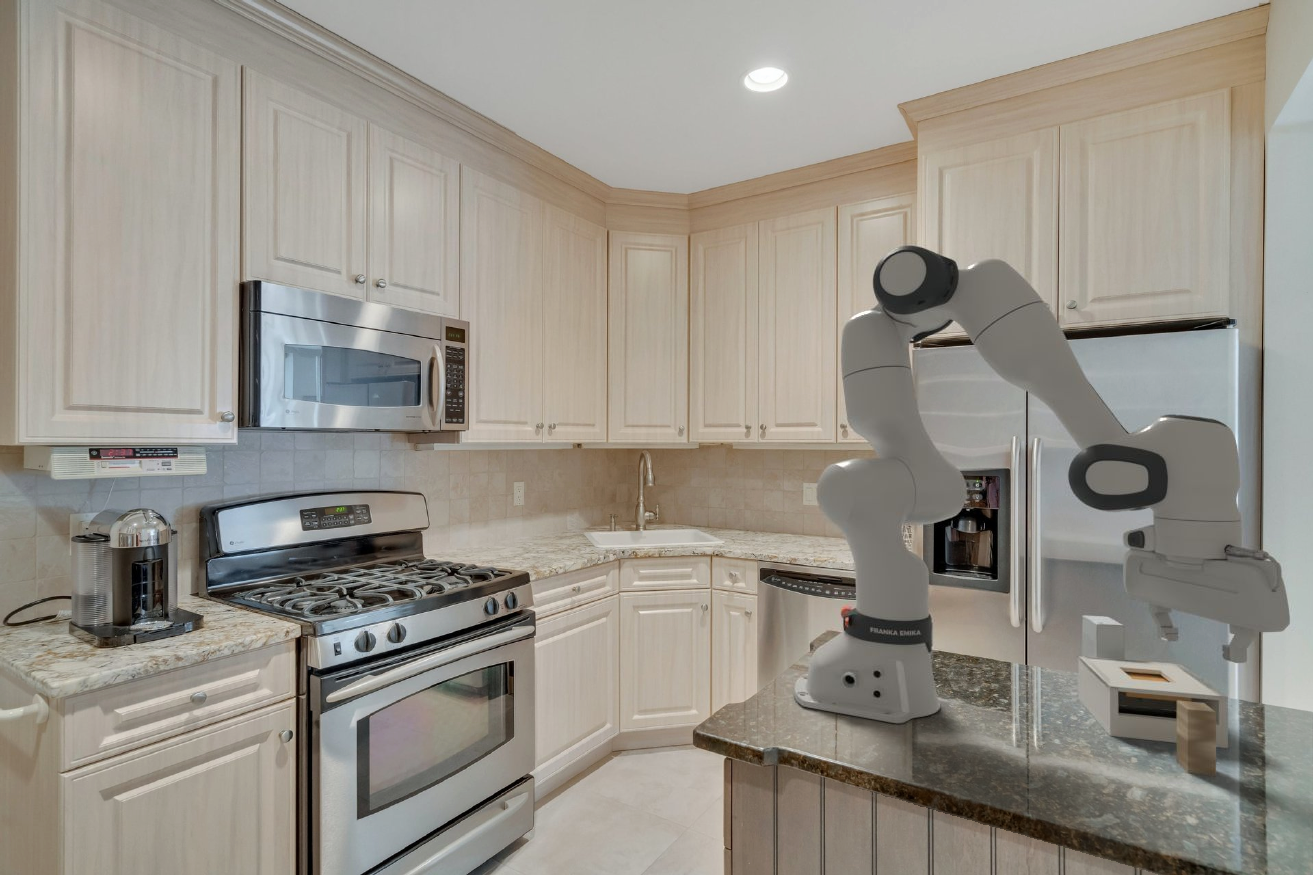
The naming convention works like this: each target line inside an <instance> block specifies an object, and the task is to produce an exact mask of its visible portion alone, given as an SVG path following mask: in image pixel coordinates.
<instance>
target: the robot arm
mask: <svg viewBox="0 0 1313 875" xmlns="http://www.w3.org/2000/svg"><path fill="white" fill-rule="evenodd" d="M872 288H873V289H872V290H873V293H874V296H875V299H876V301H877V302H878V303H877V305H876V306H874V307H873V308H871V309H869V310H865V311H862V312H859V313H857V314H855V315H853V316H852V317H851V318H849V319H848V320H847V321H846V322H845V324H844V326H843V329H842V333H841V344H840V345H841V347H840V362H841V363H840V364H841V365H840V366H841V377H842V378H841V379H842V386H843V394H844V402H845V410H846V419H847V420H846V421H847V422H848V425H849V427H850V428H851V430H852V431H853V432H854V433H855V434H857V435H859V436H860V437H862V438H863V439H864V440H866V441H867V442H868V444H870V446H871V448H872V449H873V450H874V453H875V454H876V456H877V457H867V458H866V457H862V458H859V457H857V458H852V459H851V458H850V459H847V460H844V461H839V462H836V463H832V464H829V465H828V466H827V467H826V468H824V469H823V471H822V473H821V475H820V476H819V478H818V481H817V486H816V500H817V504H818V507H819V508H820V511H821V513H822V514H823V516H824V517H825V518H826V519H827V521H828V522H830V523H832V524H833V525H834V526H835V527H836V528H837V529H838V530H839V532H840V533H841V534H842V535H843V537H844V538H845V540H846V542H847V545H848V547H849V550H850V552H851V556H852V559H853V563H854V564H853V565H854V573H855V574H854V576H855V591H856V592H855V601H856V603H855V604H856V606H855V608H853V609H852V607H850V606H849V605H845V606H843V607H842V608H841V609H840V610H841V611H840V616H841V618H842V622H843V623H842V628H843V630H842V632H840V633H839V634H837V635H836V636H834V637H832V638H831V639H830V640H828V641H827V642H824V644H822V645H821V646H819V647H818V648H816V650H815V651H814V652H813V654H812V656H811V658H810V661H809V665H808V670H807V673H805V674H803V675H801V676H800V677H798V678H797V680H796V681H795V683H794V690H793V695H794V699H795V700H796V702H797V703H798V704H799V705H800V706H802V707H805V708H810V709H815V710H821V711H826V712H832V713H838V714H841V715H842V714H843V715H846V716H847V715H848V716H854V717H859V718H865V719H870V720H875V721H880V722H881V721H882V722H887V723H893V724H902V723H903V724H904V723H905V722H907V721H910V720H911V719H915V718H923V717H926V716H929V715H933V714H935V713H937V712H938V711H939V710H940V708H941V702H940V700H939V696H938V693H937V688H936V685H935V679H934V674H933V666H932V658H931V657H932V656H931V652H932V650H933V644H934V640H933V638H934V633H933V632H934V630H933V629H934V626H933V620H932V616H931V614H930V602H929V601H930V585H929V582H930V581H929V580H930V577H929V576H930V572H929V568H928V565H927V564H926V562H925V561H924V560H923V559H922V558H921V557H920V556H918V554H916V553H914V552H912V551H911V550H909V549H908V547H907V545H906V543H905V540H904V538H903V531H902V526H920V525H922V526H923V525H924V526H925V525H931V524H935V523H938V522H942V521H945V520H948V519H952V518H953V517H955V516H957V515H959V513H960V512H961V511H962V509H963V508H964V506H965V504H966V500H967V496H968V495H967V493H968V491H967V482H966V480H965V477H964V476H963V473H962V472H961V470H960V469H959V467H957V466H956V465H954V464H953V463H952V462H950V461H949V460H948V459H946V458H945V456H944V455H943V454H941V452H940V450H939V449H938V448H937V447H936V445H935V443H933V441H932V439H931V438H930V436H929V433H928V432H927V429H926V428H925V426H924V424H923V421H922V417H921V414H920V411H919V406H918V401H917V394H916V390H915V383H914V377H913V376H914V375H913V371H912V370H913V369H912V364H911V358H910V357H911V356H910V345H911V344H916V343H918V342H919V343H920V341H922V340H925V339H926V338H927V337H928V338H929V337H930V336H933V335H936V334H938V333H940V332H942V331H943V330H945V329H946V328H948V327H950V325H951V324H952V323H953V322H955V323H957V324H958V325H959V326H960V327H961V328H962V329H963V330H964V332H965V333H966V335H967V336H968V338H969V339H970V341H971V343H972V344H973V345H974V347H975V349H976V350H977V351H978V353H979V354H980V355H981V357H982V358H983V360H984V361H985V362H986V363H987V364H988V366H989V367H990V368H992V370H993V371H995V373H996V374H997V375H998V376H999V377H1001V378H1002V379H1003V380H1004V381H1006V382H1007V383H1010V384H1012V385H1014V386H1016V387H1018V388H1020V389H1022V390H1024V391H1026V392H1028V393H1029V394H1031V395H1032V396H1034V397H1036V398H1037V399H1039V400H1040V401H1041V402H1043V403H1044V404H1045V405H1046V406H1047V407H1048V408H1049V409H1050V410H1051V411H1052V412H1053V414H1054V415H1055V416H1056V418H1057V419H1058V420H1059V422H1060V423H1061V424H1062V425H1063V427H1064V428H1065V430H1066V431H1067V432H1068V434H1069V435H1070V437H1071V438H1072V439H1073V441H1074V442H1075V443H1076V445H1077V446H1078V447H1079V449H1080V450H1081V451H1080V452H1078V453H1077V455H1076V456H1074V457H1073V459H1072V461H1071V463H1070V465H1069V468H1068V472H1067V474H1068V476H1067V478H1068V484H1069V488H1070V489H1071V491H1072V493H1073V494H1074V496H1075V497H1076V498H1077V499H1078V500H1079V501H1080V502H1082V503H1083V504H1085V505H1086V506H1088V507H1090V508H1092V509H1095V510H1099V511H1102V512H1107V513H1120V512H1127V511H1129V512H1130V511H1134V512H1135V511H1142V510H1146V509H1151V510H1152V514H1153V524H1149V525H1146V526H1143V527H1139V528H1135V529H1132V530H1131V529H1130V530H1127V531H1125V532H1123V534H1122V543H1123V546H1124V547H1126V548H1127V550H1126V551H1125V553H1124V555H1123V561H1122V566H1123V567H1122V576H1123V578H1122V579H1123V588H1124V590H1125V593H1126V594H1127V596H1128V598H1130V599H1132V600H1135V601H1139V602H1143V603H1147V604H1148V612H1149V613H1150V616H1151V618H1152V619H1153V621H1154V623H1155V625H1156V629H1157V630H1156V631H1157V633H1156V634H1157V638H1158V639H1160V640H1163V641H1166V642H1170V643H1171V642H1177V641H1179V639H1180V638H1179V627H1176V626H1174V625H1173V622H1172V619H1171V617H1170V614H1169V613H1172V610H1173V611H1176V612H1181V613H1184V614H1187V615H1188V614H1189V615H1192V616H1196V617H1200V618H1203V619H1208V620H1210V621H1211V620H1212V621H1215V622H1219V623H1223V624H1228V626H1229V627H1228V628H1229V631H1228V632H1229V633H1230V634H1232V635H1233V636H1232V639H1231V640H1230V642H1229V644H1222V646H1221V650H1222V652H1223V653H1222V658H1223V659H1224V661H1228V662H1231V663H1235V664H1245V663H1246V662H1247V660H1248V654H1247V653H1248V650H1247V649H1248V648H1249V647H1250V646H1251V644H1252V642H1254V640H1255V639H1256V637H1257V633H1279V632H1283V631H1285V630H1286V628H1288V627H1289V625H1290V623H1291V618H1290V617H1291V616H1290V607H1289V602H1288V601H1289V600H1288V596H1287V591H1286V586H1285V582H1284V579H1283V574H1282V566H1281V564H1280V562H1278V560H1276V559H1275V558H1274V557H1273V556H1271V555H1270V554H1269V552H1267V551H1265V550H1263V549H1250V548H1246V547H1243V533H1242V532H1243V530H1242V527H1243V526H1242V516H1241V513H1240V510H1239V508H1238V503H1237V497H1238V492H1239V490H1240V486H1241V471H1240V470H1241V469H1240V468H1241V467H1240V458H1239V452H1238V444H1237V441H1236V440H1237V439H1236V436H1235V434H1234V432H1233V430H1232V429H1231V428H1230V427H1229V426H1228V425H1226V423H1224V422H1221V421H1220V420H1217V419H1214V418H1207V417H1202V416H1194V415H1184V414H1164V415H1160V416H1158V417H1157V418H1156V419H1155V420H1154V421H1152V422H1150V423H1149V424H1146V425H1145V426H1143V427H1140V428H1139V429H1137V430H1134V431H1132V432H1129V431H1127V430H1126V428H1125V427H1124V426H1123V424H1122V423H1121V422H1120V421H1119V420H1118V418H1117V417H1116V416H1115V415H1114V413H1113V412H1112V411H1111V409H1110V408H1109V407H1108V405H1107V404H1106V403H1105V401H1104V400H1103V399H1102V398H1101V396H1100V395H1099V393H1098V392H1097V391H1096V389H1095V387H1093V385H1092V384H1091V383H1090V381H1089V380H1088V378H1087V376H1086V375H1085V373H1084V371H1083V370H1082V367H1081V365H1080V364H1079V362H1078V360H1077V358H1076V356H1075V353H1074V351H1073V349H1072V348H1071V345H1070V344H1069V342H1068V340H1067V338H1066V335H1065V333H1064V331H1063V330H1062V327H1061V326H1060V324H1059V322H1058V321H1057V319H1056V317H1055V316H1054V314H1053V312H1052V311H1051V310H1050V308H1049V306H1048V305H1047V304H1046V302H1045V301H1044V300H1043V299H1042V297H1041V296H1040V295H1039V293H1038V292H1037V291H1036V290H1035V289H1034V287H1033V286H1032V285H1031V284H1030V283H1029V282H1028V281H1027V280H1026V279H1025V278H1024V277H1023V276H1022V274H1021V273H1019V272H1018V271H1017V270H1016V269H1014V268H1013V267H1012V266H1011V265H1010V264H1008V263H1007V262H1006V261H1004V260H1001V259H998V258H987V259H983V260H979V261H976V262H975V263H972V264H970V265H969V266H967V267H966V268H963V269H959V267H958V264H957V261H955V260H954V259H952V258H950V257H946V256H944V255H941V254H940V253H936V252H934V251H932V250H930V249H927V248H924V247H922V246H917V245H902V246H899V247H896V248H893V249H892V250H890V251H888V252H887V253H886V254H885V255H884V256H882V258H881V259H880V260H879V261H878V263H877V265H876V266H875V269H874V271H873V277H872Z"/></svg>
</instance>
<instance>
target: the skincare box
mask: <svg viewBox="0 0 1313 875" xmlns="http://www.w3.org/2000/svg"><path fill="white" fill-rule="evenodd" d="M1081 632H1082V636H1081V637H1082V646H1081V647H1082V649H1081V650H1082V653H1081V654H1082V656H1083V657H1096V658H1108V659H1121V660H1125V625H1124V624H1122V623H1120V622H1118V621H1117V620H1115V619H1113V618H1111V617H1109V616H1102V615H1101V616H1098V615H1082V631H1081Z"/></svg>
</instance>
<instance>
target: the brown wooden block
mask: <svg viewBox="0 0 1313 875" xmlns="http://www.w3.org/2000/svg"><path fill="white" fill-rule="evenodd" d="M1176 719H1177V743H1176V763H1177V764H1178V765H1179V766H1181V768H1183V769H1184V771H1185V772H1186V773H1188V774H1197V775H1205V776H1213V777H1216V776H1217V747H1216V712H1215V711H1214V710H1213V709H1211V708H1210V707H1209V706H1207V705H1206V704H1205V703H1199V702H1188V701H1177V712H1176Z"/></svg>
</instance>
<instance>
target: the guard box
mask: <svg viewBox="0 0 1313 875" xmlns="http://www.w3.org/2000/svg"><path fill="white" fill-rule="evenodd" d="M1077 658H1078V666H1077V667H1078V672H1077V674H1078V675H1077V676H1078V677H1077V678H1078V694H1077V696H1078V699H1077V700H1078V701H1079V702H1080V703H1081V705H1083V706H1084V708H1085V709H1086V710H1087V711H1088V712H1089V713H1090V715H1091V716H1092V717H1093V718H1094V719H1095V720H1096V721H1097V722H1098V724H1099V725H1100V726H1101V727H1102V728H1103V729H1104V730H1105V732H1106V733H1107V734H1108V735H1109V736H1110V737H1119V738H1127V739H1136V740H1137V739H1138V740H1147V741H1157V742H1165V743H1167V742H1168V743H1176V744H1177V717H1176V718H1173V717H1163V716H1154V715H1145V714H1144V715H1143V714H1134V713H1124V712H1123V713H1122V712H1119V706H1121V707H1131V708H1132V707H1133V708H1142V709H1150V710H1151V709H1152V710H1163V711H1173V712H1176V713H1177V701H1171V700H1160V699H1158V703H1147V702H1141V701H1140V700H1139V699H1138V698H1137V697H1128V696H1125V695H1124V694H1123V693H1122V692H1132V693H1143V694H1154V695H1166V696H1177V697H1188V698H1191V702H1199V703H1205V704H1206V705H1207V706H1209V707H1210V708H1211V709H1213V710H1214V711H1215V712H1216V748H1222V749H1229V696H1228V695H1226V694H1224V692H1222V691H1220V690H1219V689H1217V688H1216V687H1215V686H1212V684H1210V683H1209V682H1207V681H1206V680H1204V679H1203V678H1201V677H1200V676H1198V675H1196V674H1195V673H1194V672H1192V671H1191V670H1190V669H1188V668H1186V667H1185V666H1183V665H1182V664H1181V663H1170V662H1160V661H1159V662H1158V661H1157V662H1156V661H1143V660H1134V659H1133V660H1132V659H1124V660H1121V659H1108V658H1096V657H1083V656H1080V655H1078V656H1077ZM1125 672H1135V673H1147V674H1159V675H1162V676H1163V677H1164V678H1166V679H1167V680H1168V681H1170V682H1161V681H1149V680H1137V679H1132V678H1131V677H1130V676H1129V675H1127V674H1126V673H1125Z"/></svg>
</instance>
